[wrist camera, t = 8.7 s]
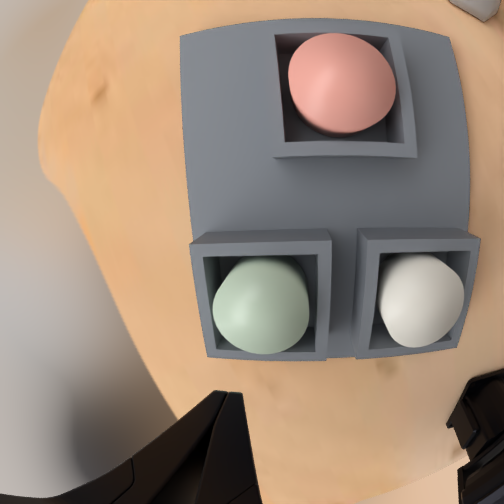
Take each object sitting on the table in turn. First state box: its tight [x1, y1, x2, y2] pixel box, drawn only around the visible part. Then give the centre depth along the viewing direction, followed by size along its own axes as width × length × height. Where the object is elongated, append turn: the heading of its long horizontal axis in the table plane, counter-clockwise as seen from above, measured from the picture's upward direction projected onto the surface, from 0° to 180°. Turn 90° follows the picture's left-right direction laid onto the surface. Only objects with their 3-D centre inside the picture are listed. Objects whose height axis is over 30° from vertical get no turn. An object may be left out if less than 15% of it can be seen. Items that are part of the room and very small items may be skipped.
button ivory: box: [375, 252, 464, 348], centre depth 12 cm, size 4×4×3 cm
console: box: [180, 18, 481, 361], centre depth 13 cm, size 16×20×4 cm
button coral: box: [288, 33, 396, 137], centre depth 10 cm, size 4×4×3 cm
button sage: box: [213, 255, 309, 354], centre depth 14 cm, size 4×4×3 cm
